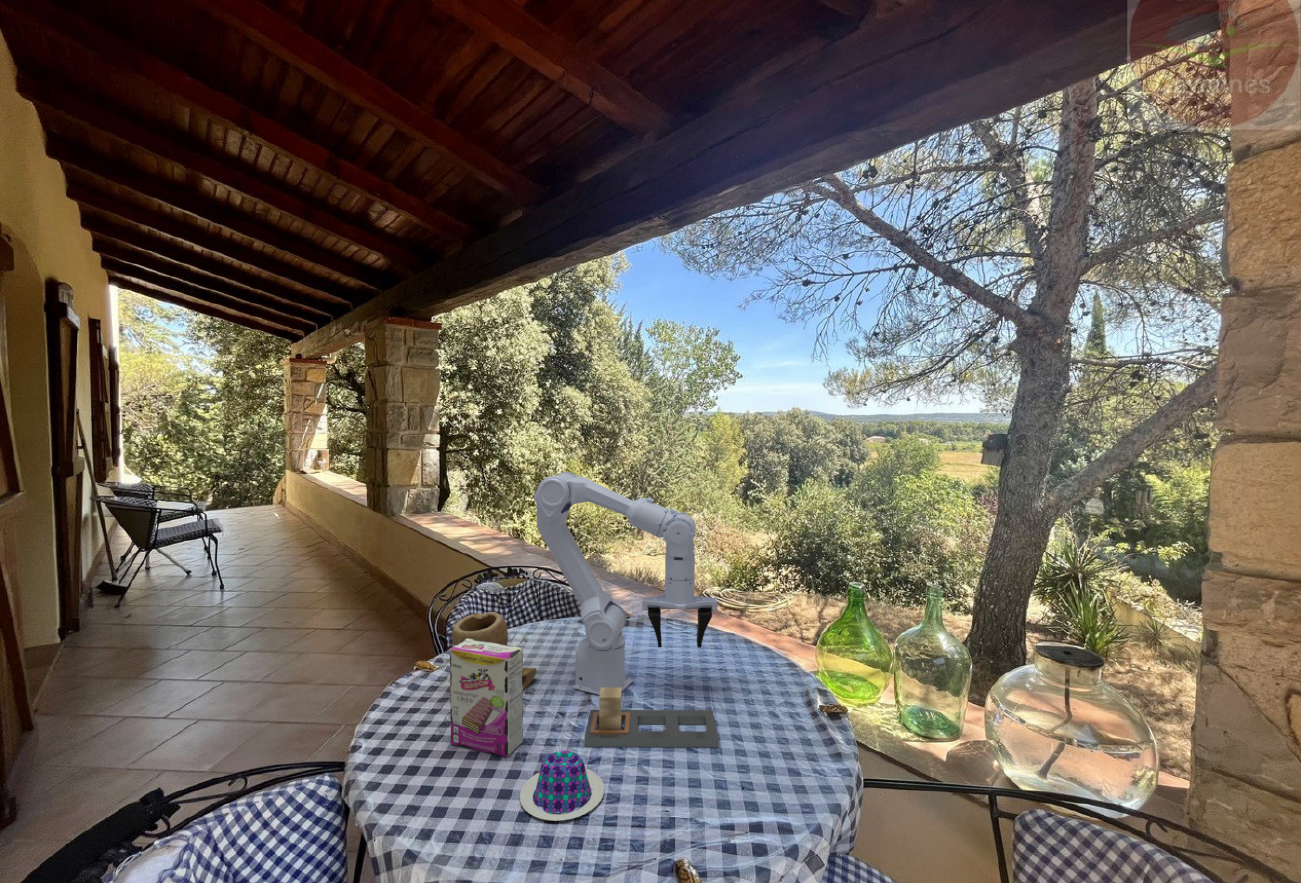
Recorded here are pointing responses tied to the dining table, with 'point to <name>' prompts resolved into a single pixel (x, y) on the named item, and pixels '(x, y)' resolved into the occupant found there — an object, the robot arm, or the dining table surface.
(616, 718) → the birch peg
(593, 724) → the gray peg hole board
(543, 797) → the pudding
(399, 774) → the dining table surface
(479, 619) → the stone cup
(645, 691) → the dining table surface
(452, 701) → the candy bar box
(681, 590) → the robot arm
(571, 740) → the dining table surface
